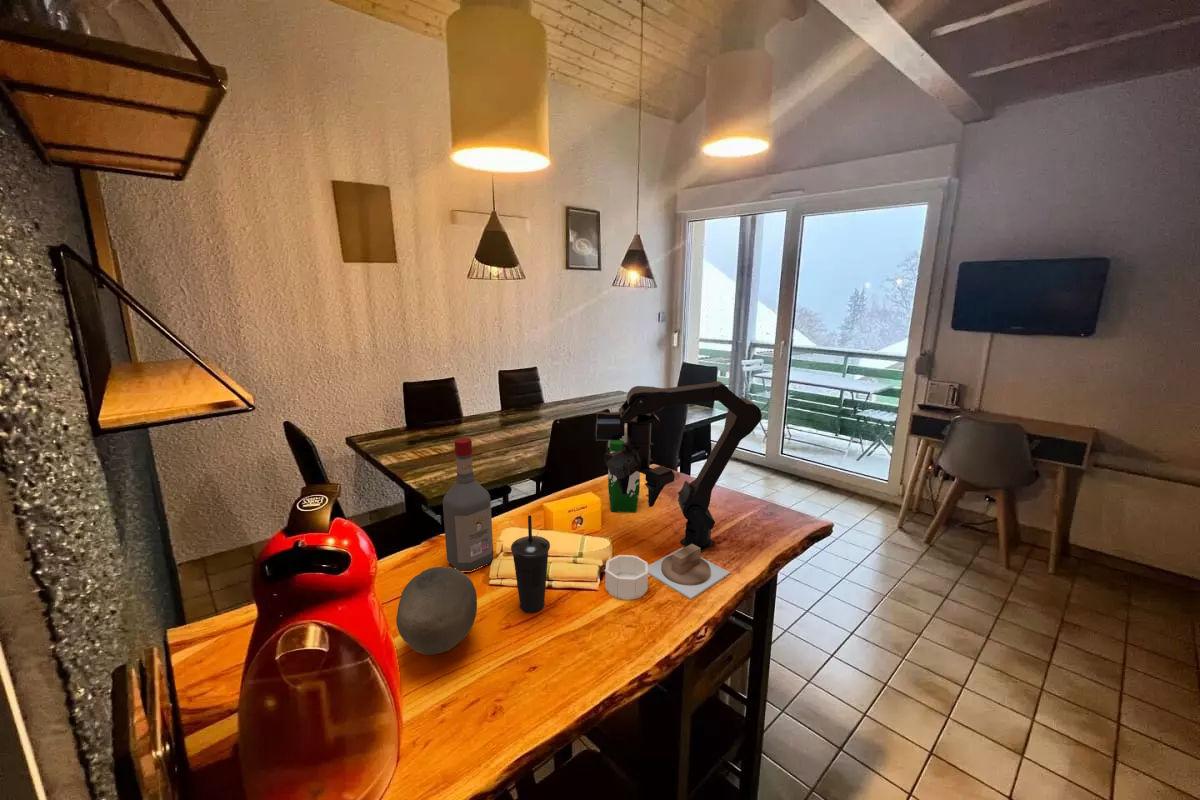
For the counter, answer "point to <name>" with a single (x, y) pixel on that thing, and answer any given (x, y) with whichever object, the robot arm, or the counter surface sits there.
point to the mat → (688, 590)
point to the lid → (686, 567)
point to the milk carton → (615, 495)
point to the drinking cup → (531, 569)
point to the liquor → (467, 515)
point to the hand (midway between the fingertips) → (637, 500)
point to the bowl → (626, 577)
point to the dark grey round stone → (436, 610)
